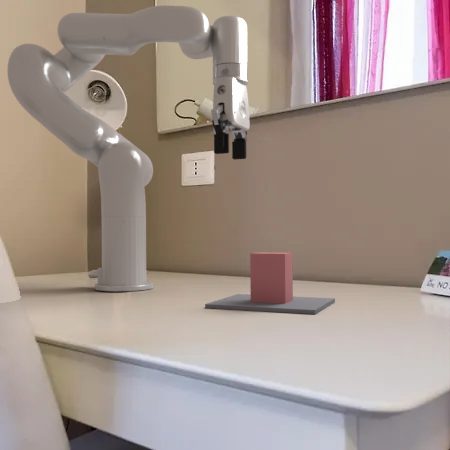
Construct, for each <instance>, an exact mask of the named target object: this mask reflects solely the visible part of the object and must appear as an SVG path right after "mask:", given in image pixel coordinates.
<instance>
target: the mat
mask: <svg viewBox="0 0 450 450" xmlns="http://www.w3.org/2000/svg"><path fill="white" fill-rule="evenodd" d="M335 302H336V298H332V297H312V296H311V297H309V296H293V301H291V302H288V303H286V304H282V303H264V302H251V294H244V293H242V294H240V293H237V294H234V295H230V296H226V297H224V298H221V299H217V300H214V301H211V302H207V303H205V304H204V308H205V309H219V310H236V311H237V310H238V311H250V312H251V311H255V312H268V313H269V312H271V313H273V312H274V313H286V314H287V313H289V314H305V315H317V314H318V313H320V312H322V311H323V310H325V309H326V308H328V307H329V306H331V305H333V304H334V303H335Z"/></svg>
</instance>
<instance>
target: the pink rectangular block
mask: <svg viewBox="0 0 450 450" xmlns="http://www.w3.org/2000/svg"><path fill="white" fill-rule="evenodd" d="M249 256H250V257H249V258H250V259H249V261H250V263H249V264H250V272H249V273H250V274H249V275H250V295H251V302H264V303H282V304H286V303H288V302H291V301H293V297H294V293H293V292H294V290H293V289H294V287H293V284H294V282H293V281H294V279H293V278H294V277H293V276H294V272H293V252H271V251H270V252H269V251H268V252H264V251H263V252H262V251H259V252H251V253H250V254H249Z"/></svg>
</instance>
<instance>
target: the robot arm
mask: <svg viewBox="0 0 450 450" xmlns="http://www.w3.org/2000/svg"><path fill="white" fill-rule="evenodd" d="M57 36H58V40H59V41H60V44H61V45H62V46H63V47H61V49H60V50H59V51H57V52H56V53H55V54H53V53H52V52H50V51H49V50H47V49H46V48H45V47H43V46H41V45H39V44H34V43H22V44H20V45H18V46H16V47H15V48H14V49H12V51H11V53H10V55H9V58H8V62H7V69H6V70H7V81H8V83H9V86H10V87H9V88H10V91H11V92H12V94H13V96H14V97H15V99H16V101H17V102H18V103H19V104H20V106H21V107H22V108H23V109H24V110H25V111H26V113H28V114H29V115H30V116H31V117H32V118H33V119H35V120H36V121H37V122H38V123H39V124H40V125H41V126H43V127H44V128H45V129H46V130H47V131H49V132H50V133H51V134H52V135H53V136H54V137H56V138H57V139H58V140H59V141H61V142H62V143H63V144H64V145H65V146H66V147H67V148H68V149H69V150H71V152H73V153H74V154H76V155H77V156H78V157H81V158H82V159H83V158H84V159H86V160H87V161H89V162H91V163H92V164H93V165H95V167H97V174H98V180H99V181H98V182H99V189H100V204H101V207H100V209H101V210H100V212H101V267H98V268H97V269H92V270H91V271H90V272H88V278H89V279H97V283H95V284H94V290H96V291H100V292H101V291H102V292H139V291H145V290H151V289H153V288H154V286H155V283H154V282H153V281H148V280H147V210H146V209H147V204H146V191H145V190H146V189H145V187H146V186H147V185H148V184H149V183H150V182H151V181H152V178H153V176H154V166H153V163H152V160H151V159H150V157H149V155H147V153H145V152H143V151H142V150H141V149H140V148H138V147H137V146H136V145H135V144H134V143H132V142H131V141H130V140H128V139H127V138H126V137H125V136H123V135H122V134H121V133H120V132H118V131H117V130H116V129H114V128H113V127H112V126H111V125H109V124H108V123H107V122H105V121H104V120H102V119H101V118H99V117H98V116H95V115H93V114H91V113H90V112H89V111H87V110H85V109H84V108H83V107H82V106H80V105H79V104H78V103H77V102H75V101H74V100H73V99H72V98H71V97H70V96H68V95H67V94H65V92H67V91H68V90H69V89H71V88H72V87H73V86H74V85H76V84H77V83H78V82H79V81H80V80H82V78H84V77H85V76H86V75H87V74H88V73H90V72H91V71H92V70H93V69H94V68H95V67H96V66H97V65H98V64H100V63H101V61H102V60H103V59H104V58H105V56H106V55H109V56H110V55H111V56H132V55H134V54H136V53H137V52H138V51H139V50H140V48H142V47H143V46H146V45H148V44H153V43H175V44H178V45H179V47H180V50H181V52H182V53H183V55H184V56H186V57H187V58H188V59H192V60H202V59H207V58H208V59H209V58H212V85H213V97H212V98H213V99H212V102H213V103H212V109H211V110H210V111H211V112H210V113H211V117H212V121H211V122H212V123H211V124H212V126H213V130H212V132H213V134H214V135H213V150H214V152H213V153H214V154H216V155H220V154H222V155H223V154H224V155H225V154H229V153H230V133H231V135H232V140H233V141H232V142H231V145H232V146H231V147H232V148H231V149H232V150H231V151H232V153H231V155H232V159H233V160H245V159H247V141H248V138H247V135H248V132H247V131H249V130H250V126H251V125H250V122H251V120H250V107H249V106H250V105H249V96H248V95H249V94H248V88H247V85H248V84H249V80H248V79H249V78H248V65H249V64H248V63H249V62H248V24H247V22H246V20H244V18H242V17H240V16H236V15H225V16H221V17H218V18H217V19H215V20H214V22H213V23H212V25H210V22H209V18H208V17H207V16H206V14H205V13H204V12H203V11H201V9H198V8H195V7H192V6H184V5H155V6H149V7H146V8H143V9H140V10H137V11H134V12H133V13H104V12H103V13H102V12H99V13H98V12H69V13H67V14H65V15H63V16H62V17H61V19H60V20H59V22H58V25H57ZM228 132H229V133H228Z"/></svg>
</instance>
